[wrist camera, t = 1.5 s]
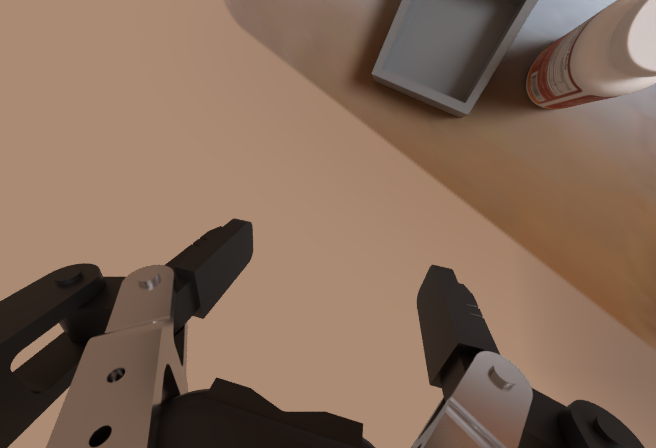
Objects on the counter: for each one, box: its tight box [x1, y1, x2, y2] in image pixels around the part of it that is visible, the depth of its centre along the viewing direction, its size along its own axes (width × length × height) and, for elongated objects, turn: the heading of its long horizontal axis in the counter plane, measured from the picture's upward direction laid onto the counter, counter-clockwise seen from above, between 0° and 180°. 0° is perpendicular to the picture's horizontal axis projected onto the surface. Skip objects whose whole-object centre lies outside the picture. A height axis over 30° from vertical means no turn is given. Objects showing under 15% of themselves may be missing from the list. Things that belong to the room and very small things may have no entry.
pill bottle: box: [526, 0, 656, 109], centre depth 18 cm, size 6×6×11 cm
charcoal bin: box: [371, 0, 538, 118], centre depth 23 cm, size 11×11×4 cm
